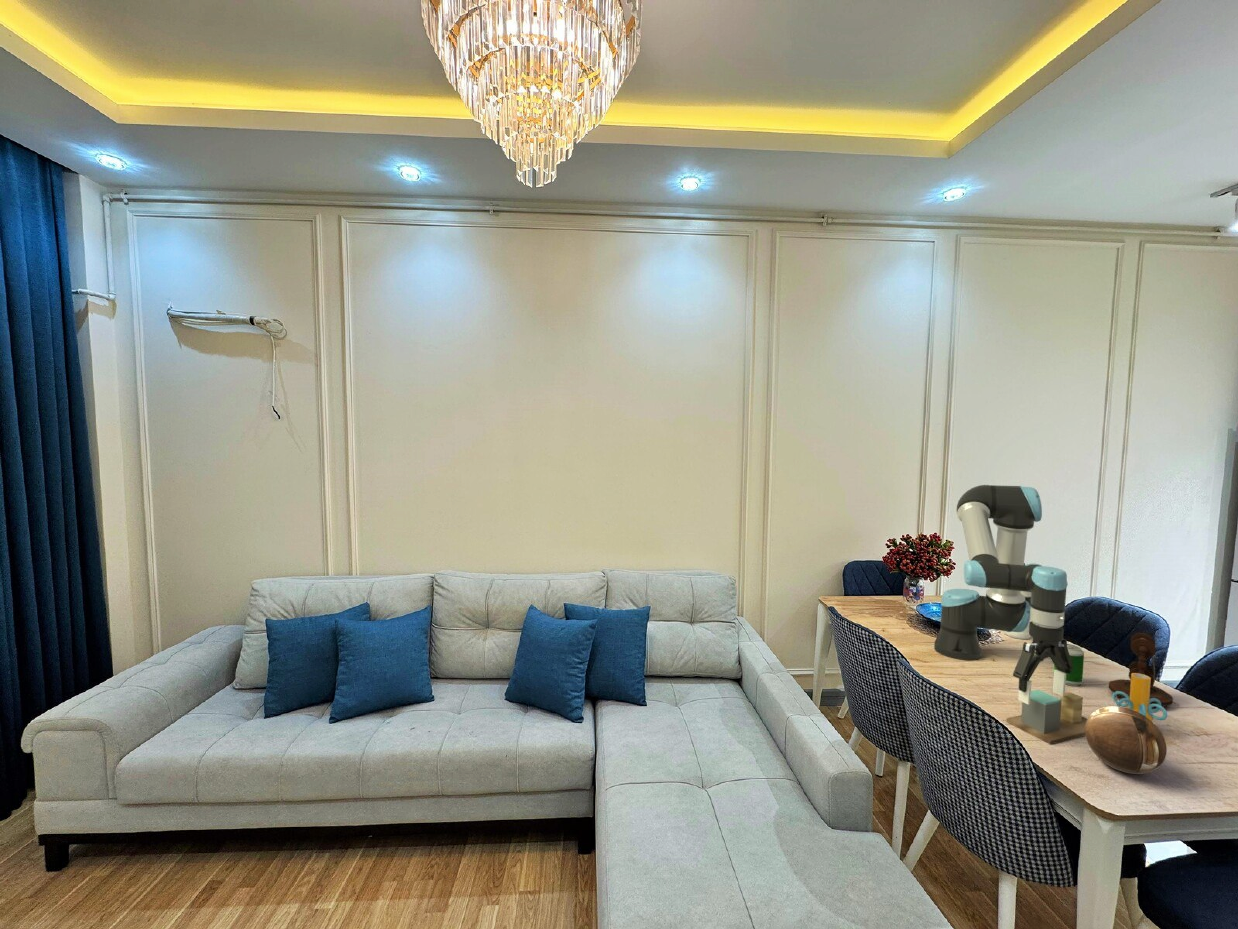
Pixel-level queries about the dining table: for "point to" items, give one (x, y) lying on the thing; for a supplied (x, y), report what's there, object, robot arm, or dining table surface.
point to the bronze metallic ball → (1125, 740)
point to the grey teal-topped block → (1042, 712)
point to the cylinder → (1140, 697)
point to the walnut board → (1069, 721)
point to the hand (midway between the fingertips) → (1041, 698)
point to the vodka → (1025, 633)
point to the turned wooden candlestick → (1142, 670)
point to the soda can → (1075, 665)
